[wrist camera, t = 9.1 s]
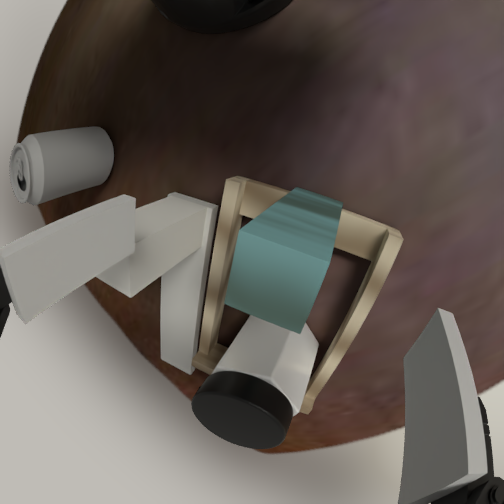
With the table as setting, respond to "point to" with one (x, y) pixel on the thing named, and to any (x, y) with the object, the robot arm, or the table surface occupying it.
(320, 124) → the table surface
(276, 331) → the jar
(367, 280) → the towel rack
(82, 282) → the robot arm
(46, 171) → the can
